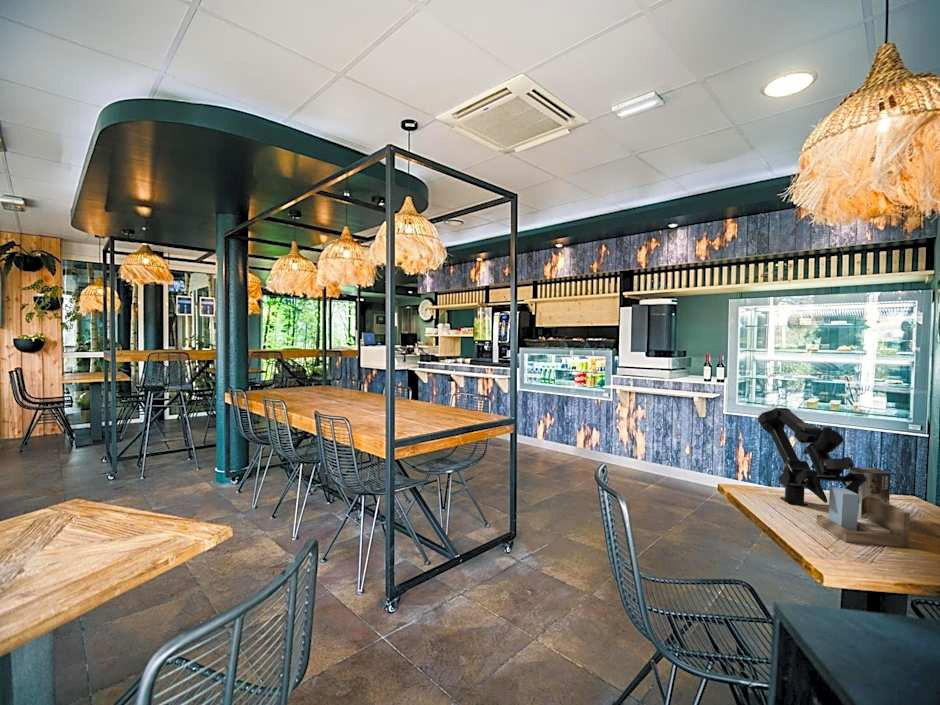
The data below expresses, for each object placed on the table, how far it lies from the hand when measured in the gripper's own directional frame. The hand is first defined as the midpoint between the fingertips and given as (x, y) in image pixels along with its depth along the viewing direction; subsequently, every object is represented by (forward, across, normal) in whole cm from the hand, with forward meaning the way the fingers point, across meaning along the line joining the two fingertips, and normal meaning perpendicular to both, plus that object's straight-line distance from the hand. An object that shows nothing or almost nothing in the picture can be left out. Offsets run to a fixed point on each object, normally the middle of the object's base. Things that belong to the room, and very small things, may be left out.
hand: (842, 503), depth 143 cm
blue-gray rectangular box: (+6, 0, +5) cm, 8 cm away
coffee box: (-5, +19, +18) cm, 26 cm away
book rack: (+8, +4, +4) cm, 10 cm away
